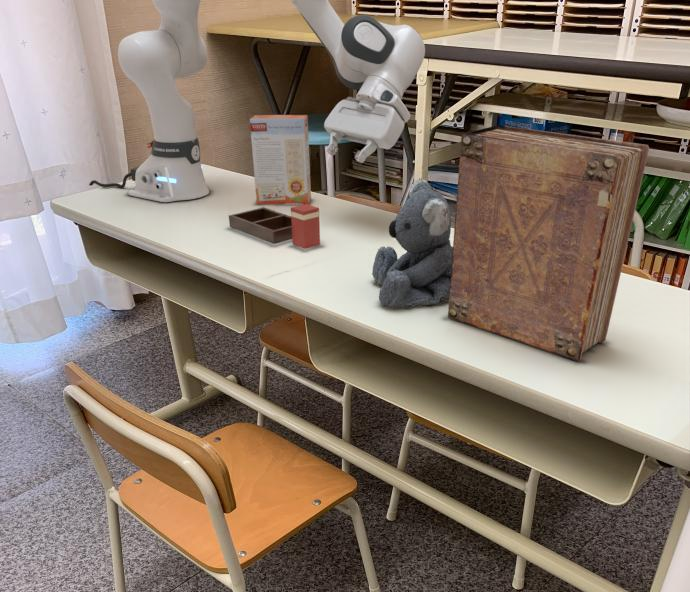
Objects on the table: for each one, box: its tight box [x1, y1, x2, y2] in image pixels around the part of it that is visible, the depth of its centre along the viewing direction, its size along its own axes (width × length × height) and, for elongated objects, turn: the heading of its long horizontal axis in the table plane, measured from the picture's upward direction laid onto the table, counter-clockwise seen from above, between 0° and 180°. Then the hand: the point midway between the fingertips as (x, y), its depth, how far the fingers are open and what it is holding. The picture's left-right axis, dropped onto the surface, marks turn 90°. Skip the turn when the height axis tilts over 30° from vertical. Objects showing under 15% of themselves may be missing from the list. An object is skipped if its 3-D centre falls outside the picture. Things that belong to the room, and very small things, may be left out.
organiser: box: [228, 206, 292, 245], centre depth 162 cm, size 18×10×3 cm, turn 42°
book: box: [447, 124, 650, 363], centre depth 109 cm, size 25×9×30 cm, turn 47°
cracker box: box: [249, 114, 312, 205], centre depth 179 cm, size 14×6×21 cm, turn 84°
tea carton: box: [290, 204, 321, 249], centre depth 152 cm, size 4×4×8 cm
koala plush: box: [371, 177, 453, 309], centre depth 126 cm, size 17×18×20 cm
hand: (343, 156), depth 152 cm, fingers open, 8 cm apart
